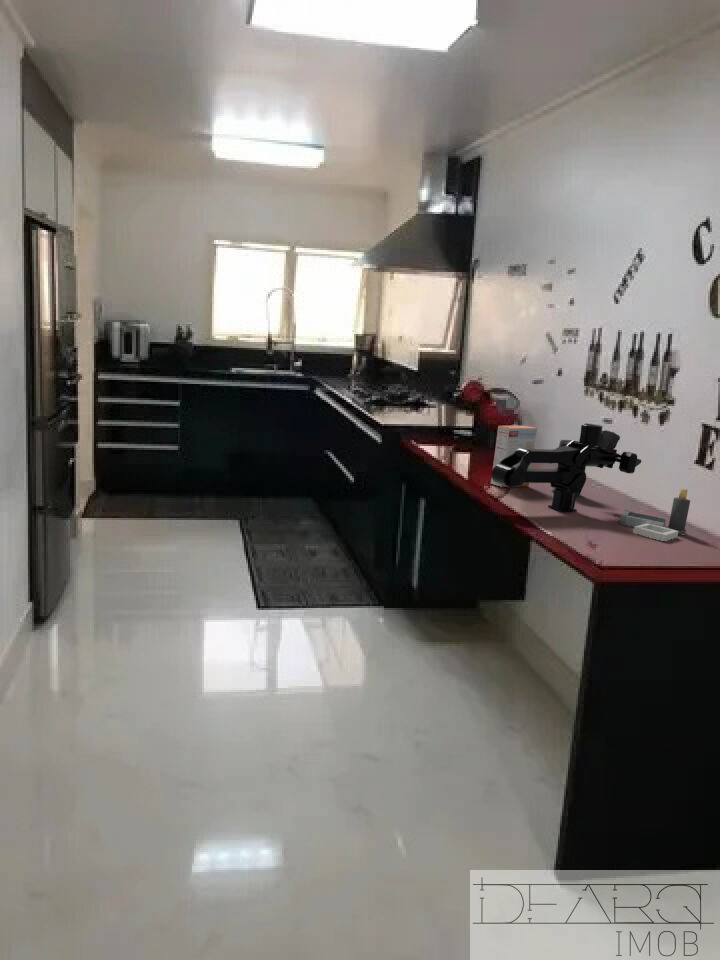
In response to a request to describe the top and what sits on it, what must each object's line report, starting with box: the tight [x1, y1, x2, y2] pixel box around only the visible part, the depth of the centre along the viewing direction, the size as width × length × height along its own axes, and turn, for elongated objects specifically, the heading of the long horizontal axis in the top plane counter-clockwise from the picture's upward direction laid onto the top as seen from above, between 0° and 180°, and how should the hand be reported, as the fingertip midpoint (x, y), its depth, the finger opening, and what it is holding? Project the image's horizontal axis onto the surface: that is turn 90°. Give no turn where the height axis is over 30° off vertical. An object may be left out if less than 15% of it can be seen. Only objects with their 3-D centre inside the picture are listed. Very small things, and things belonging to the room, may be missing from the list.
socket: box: [632, 523, 679, 542], centre depth 226 cm, size 9×9×2 cm
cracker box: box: [490, 425, 538, 488], centre depth 275 cm, size 14×6×21 cm, turn 127°
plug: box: [666, 488, 691, 535], centre depth 232 cm, size 5×5×13 cm
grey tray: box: [619, 509, 667, 528], centre depth 237 cm, size 12×9×3 cm
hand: (629, 458), depth 257 cm, fingers open, 9 cm apart
